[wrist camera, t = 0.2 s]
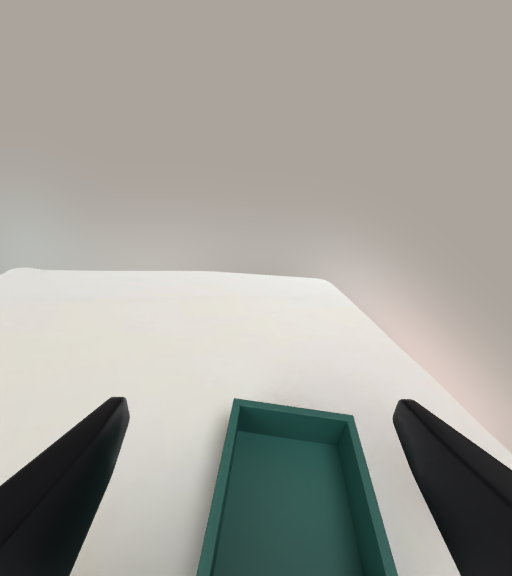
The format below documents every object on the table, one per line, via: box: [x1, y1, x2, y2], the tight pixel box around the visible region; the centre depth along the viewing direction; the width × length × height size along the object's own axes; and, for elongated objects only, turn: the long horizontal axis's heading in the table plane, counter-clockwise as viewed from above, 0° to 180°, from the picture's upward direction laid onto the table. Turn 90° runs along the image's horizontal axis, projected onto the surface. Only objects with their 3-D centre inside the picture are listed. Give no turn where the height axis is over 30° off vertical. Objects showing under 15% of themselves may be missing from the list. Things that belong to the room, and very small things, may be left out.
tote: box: [197, 398, 398, 576], centre depth 18 cm, size 13×11×4 cm
